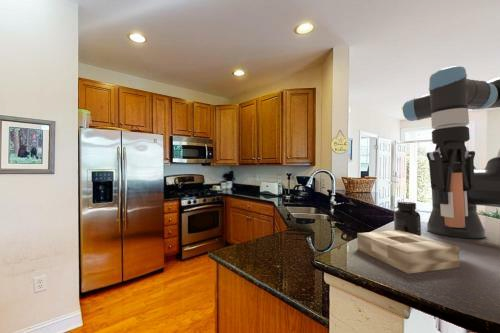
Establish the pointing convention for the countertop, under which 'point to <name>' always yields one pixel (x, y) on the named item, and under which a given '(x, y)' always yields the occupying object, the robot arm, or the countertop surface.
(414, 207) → the supplement bottle
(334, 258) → the countertop surface
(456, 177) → the terracotta dowel
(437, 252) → the bore block
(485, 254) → the countertop surface
